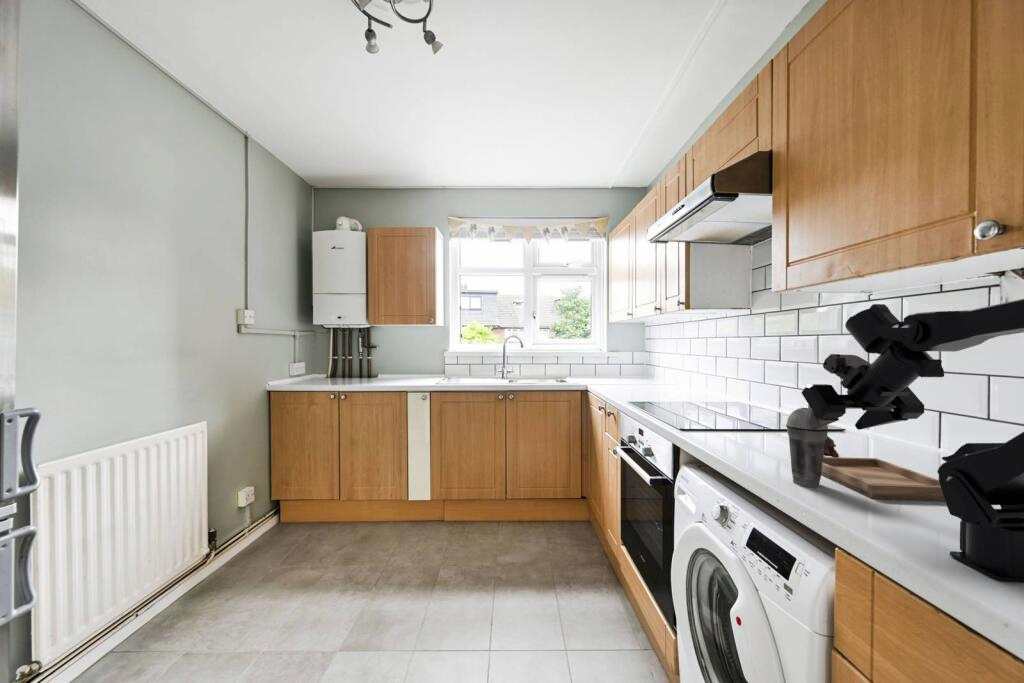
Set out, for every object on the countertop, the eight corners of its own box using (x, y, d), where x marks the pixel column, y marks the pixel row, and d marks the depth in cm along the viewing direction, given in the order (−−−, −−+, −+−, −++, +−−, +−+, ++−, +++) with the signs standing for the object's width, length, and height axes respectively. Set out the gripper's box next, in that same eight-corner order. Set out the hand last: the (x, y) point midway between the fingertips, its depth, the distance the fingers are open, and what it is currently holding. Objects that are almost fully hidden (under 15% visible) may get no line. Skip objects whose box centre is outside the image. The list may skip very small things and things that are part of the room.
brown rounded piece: (851, 466, 104) (841, 438, 102) (812, 481, 105) (801, 454, 104) (820, 442, 115) (810, 416, 113) (785, 456, 117) (774, 431, 115)
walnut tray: (961, 501, 80) (961, 488, 80) (871, 498, 81) (871, 485, 81) (876, 469, 100) (876, 458, 100) (804, 467, 101) (804, 456, 101)
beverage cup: (776, 479, 91) (778, 385, 91) (802, 476, 94) (803, 384, 94) (809, 491, 84) (811, 388, 84) (836, 487, 87) (838, 388, 87)
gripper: (909, 340, 77) (855, 393, 88) (810, 338, 76) (767, 393, 87) (956, 389, 69) (890, 441, 81) (847, 388, 68) (795, 441, 79)
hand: (834, 427), depth 82 cm, fingers open, 9 cm apart
